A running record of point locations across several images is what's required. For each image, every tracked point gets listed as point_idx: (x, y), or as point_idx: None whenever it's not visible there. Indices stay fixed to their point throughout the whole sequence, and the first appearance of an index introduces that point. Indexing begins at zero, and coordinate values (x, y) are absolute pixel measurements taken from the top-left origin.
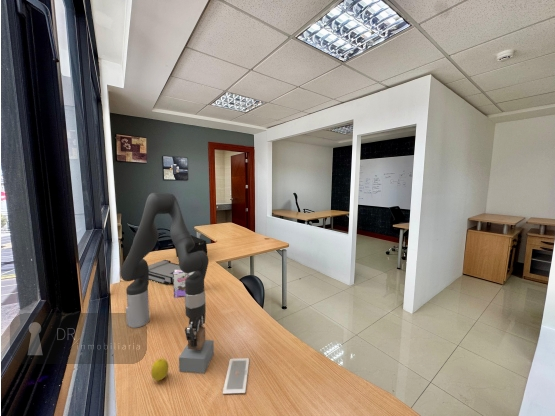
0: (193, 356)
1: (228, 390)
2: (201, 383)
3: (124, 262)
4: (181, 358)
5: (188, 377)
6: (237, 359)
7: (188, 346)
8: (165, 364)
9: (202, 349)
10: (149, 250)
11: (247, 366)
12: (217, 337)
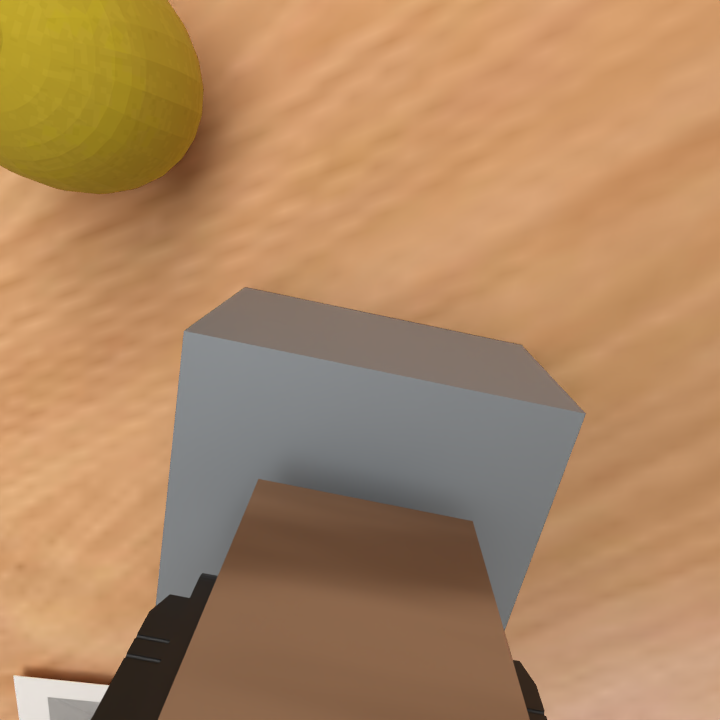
0: (197, 525)
1: (41, 708)
2: (111, 516)
3: None
4: (182, 368)
5: (172, 396)
6: None
7: (245, 512)
8: (19, 166)
9: None
10: None
11: None
12: (689, 579)
